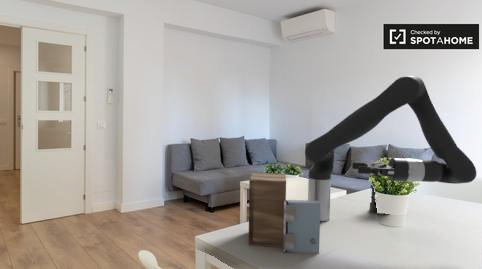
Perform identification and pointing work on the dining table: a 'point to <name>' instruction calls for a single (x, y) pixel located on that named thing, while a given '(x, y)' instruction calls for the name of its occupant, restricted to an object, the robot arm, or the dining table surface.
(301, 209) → the door
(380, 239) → the dining table surface
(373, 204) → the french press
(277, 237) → the cabinet
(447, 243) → the dining table surface
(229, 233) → the dining table surface
